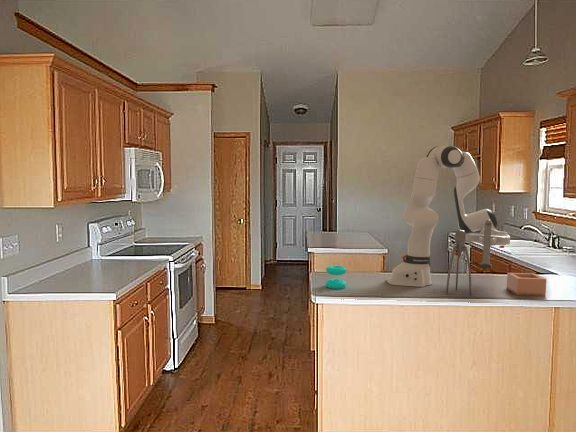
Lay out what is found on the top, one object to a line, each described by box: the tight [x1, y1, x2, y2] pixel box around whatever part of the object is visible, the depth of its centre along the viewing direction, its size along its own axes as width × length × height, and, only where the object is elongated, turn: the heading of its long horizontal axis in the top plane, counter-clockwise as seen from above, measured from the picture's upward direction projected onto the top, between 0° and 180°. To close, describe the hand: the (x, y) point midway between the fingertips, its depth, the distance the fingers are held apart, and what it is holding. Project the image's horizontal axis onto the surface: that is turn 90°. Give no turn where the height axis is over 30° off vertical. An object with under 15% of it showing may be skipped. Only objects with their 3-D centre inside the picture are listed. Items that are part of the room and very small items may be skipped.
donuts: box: [325, 265, 348, 290], centre depth 255 cm, size 10×10×10 cm
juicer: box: [445, 229, 472, 297], centre depth 246 cm, size 10×11×30 cm
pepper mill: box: [479, 220, 492, 269], centre depth 251 cm, size 5×5×23 cm
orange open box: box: [506, 272, 547, 297], centre depth 249 cm, size 13×13×8 cm
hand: (487, 240), depth 250 cm, fingers closed on pepper mill, 3 cm apart
